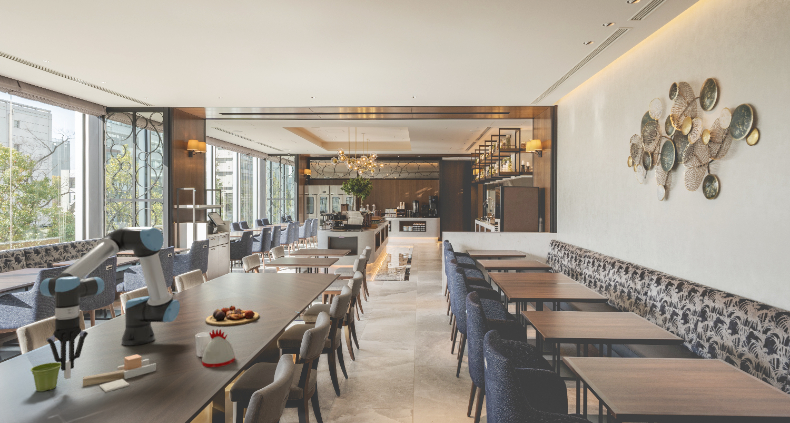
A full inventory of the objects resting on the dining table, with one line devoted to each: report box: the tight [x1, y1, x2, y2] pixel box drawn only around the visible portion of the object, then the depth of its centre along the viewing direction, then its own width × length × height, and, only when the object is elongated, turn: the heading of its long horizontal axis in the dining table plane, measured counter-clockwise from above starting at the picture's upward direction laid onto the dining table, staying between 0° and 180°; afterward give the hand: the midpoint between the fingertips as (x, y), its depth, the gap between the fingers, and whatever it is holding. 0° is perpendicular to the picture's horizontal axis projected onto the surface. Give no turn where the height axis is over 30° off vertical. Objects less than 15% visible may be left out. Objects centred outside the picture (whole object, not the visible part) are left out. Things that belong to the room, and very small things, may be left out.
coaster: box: [99, 379, 130, 393], centre depth 167 cm, size 8×8×1 cm
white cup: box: [195, 331, 212, 358], centre depth 203 cm, size 8×8×10 cm
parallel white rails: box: [117, 358, 157, 380], centre depth 181 cm, size 9×12×3 cm
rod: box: [82, 370, 125, 387], centre depth 172 cm, size 3×14×3 cm, turn 123°
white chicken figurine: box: [201, 328, 236, 368], centre depth 194 cm, size 14×14×15 cm
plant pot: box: [30, 361, 61, 392], centre depth 165 cm, size 9×9×9 cm
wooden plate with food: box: [205, 305, 260, 327], centre depth 267 cm, size 32×32×8 cm
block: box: [123, 354, 143, 371], centre depth 180 cm, size 5×5×7 cm
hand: (67, 377), depth 163 cm, fingers closed
